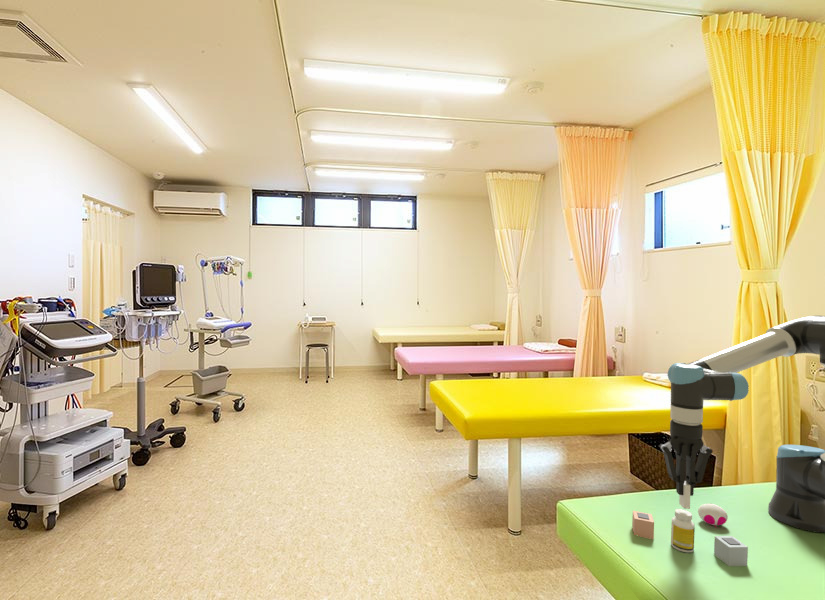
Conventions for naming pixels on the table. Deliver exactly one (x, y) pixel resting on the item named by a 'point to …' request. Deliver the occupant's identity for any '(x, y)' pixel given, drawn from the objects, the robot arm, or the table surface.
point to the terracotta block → (643, 524)
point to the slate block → (730, 551)
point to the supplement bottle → (682, 531)
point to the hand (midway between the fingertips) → (684, 506)
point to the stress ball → (712, 514)
